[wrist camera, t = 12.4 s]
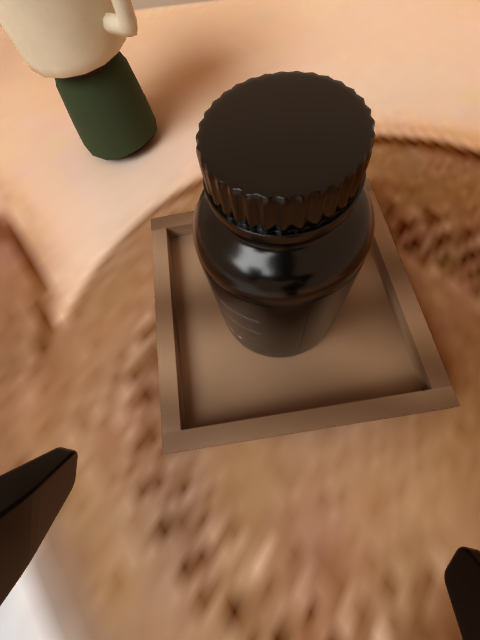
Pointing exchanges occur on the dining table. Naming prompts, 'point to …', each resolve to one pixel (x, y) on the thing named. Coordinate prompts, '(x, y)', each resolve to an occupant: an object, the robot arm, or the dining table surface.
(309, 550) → the dining table surface
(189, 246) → the tray
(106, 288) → the dining table surface
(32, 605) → the dining table surface
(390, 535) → the dining table surface
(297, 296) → the supplement bottle
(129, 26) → the character mug
